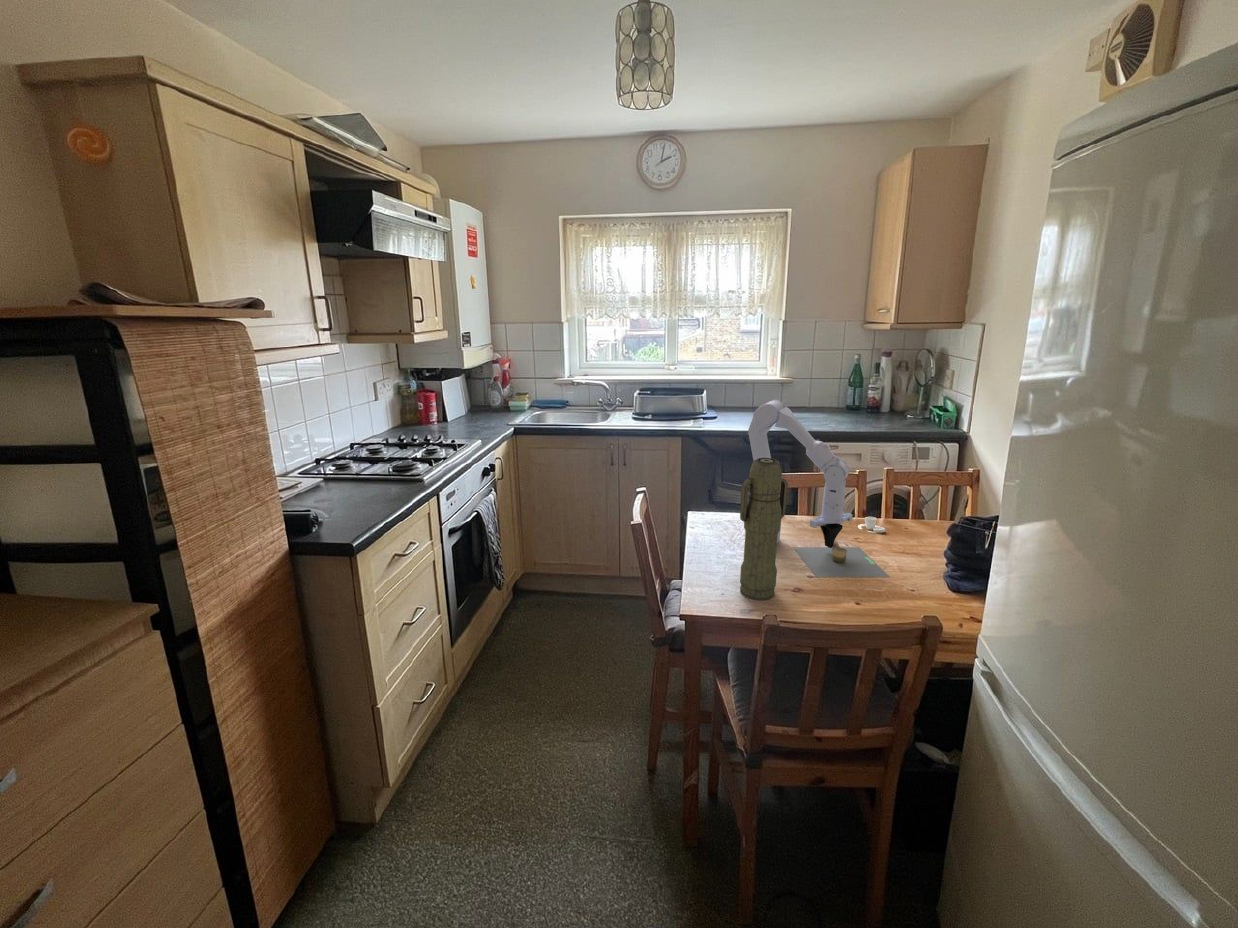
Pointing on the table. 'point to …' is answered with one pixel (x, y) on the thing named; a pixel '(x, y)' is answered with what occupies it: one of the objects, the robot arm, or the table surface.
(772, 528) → the olive green tall cylinder
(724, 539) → the table surface
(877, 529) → the teacup and saucer
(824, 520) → the robot arm
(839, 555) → the olive brown knobbed bar
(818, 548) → the board
